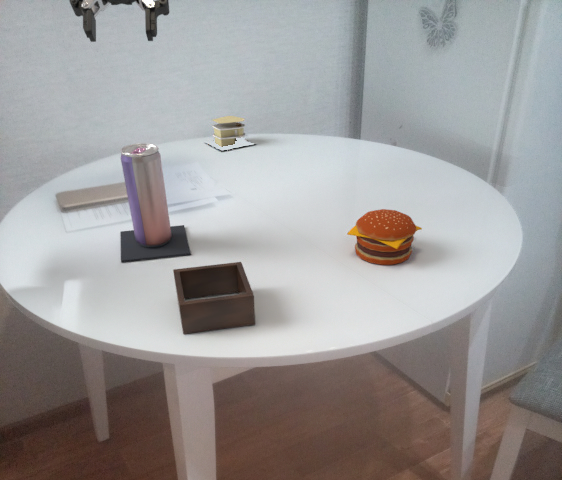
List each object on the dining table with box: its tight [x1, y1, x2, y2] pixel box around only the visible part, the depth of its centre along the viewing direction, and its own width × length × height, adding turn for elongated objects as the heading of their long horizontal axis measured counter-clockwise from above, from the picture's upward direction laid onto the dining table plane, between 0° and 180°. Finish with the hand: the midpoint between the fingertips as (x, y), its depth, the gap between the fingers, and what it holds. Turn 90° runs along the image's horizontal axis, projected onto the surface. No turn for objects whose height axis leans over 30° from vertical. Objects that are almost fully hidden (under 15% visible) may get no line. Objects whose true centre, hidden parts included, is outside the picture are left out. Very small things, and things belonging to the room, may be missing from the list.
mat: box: [119, 224, 192, 263], centre depth 94 cm, size 11×11×1 cm
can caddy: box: [172, 261, 256, 335], centre depth 76 cm, size 10×10×4 cm
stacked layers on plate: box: [211, 115, 246, 153], centre depth 134 cm, size 10×9×6 cm
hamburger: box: [346, 208, 423, 266], centre depth 89 cm, size 9×10×7 cm
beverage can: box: [120, 142, 172, 248], centre depth 89 cm, size 6×6×15 cm
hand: (120, 37), depth 83 cm, fingers open, 8 cm apart
